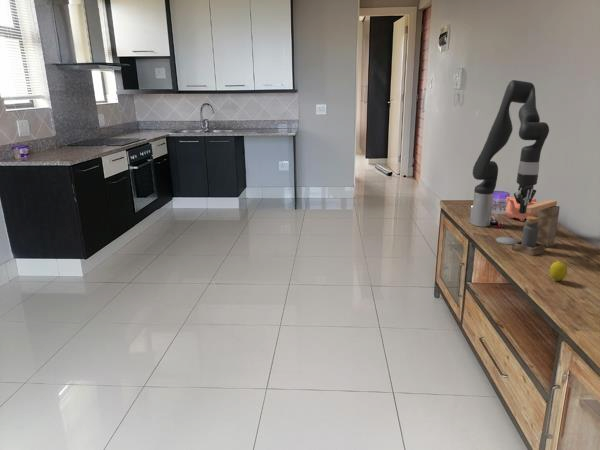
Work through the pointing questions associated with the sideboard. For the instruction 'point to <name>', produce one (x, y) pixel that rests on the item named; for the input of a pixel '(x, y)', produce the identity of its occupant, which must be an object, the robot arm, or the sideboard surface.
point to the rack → (542, 232)
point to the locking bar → (541, 206)
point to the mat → (506, 240)
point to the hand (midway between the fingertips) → (522, 213)
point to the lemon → (558, 270)
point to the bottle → (530, 232)
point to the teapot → (517, 209)
